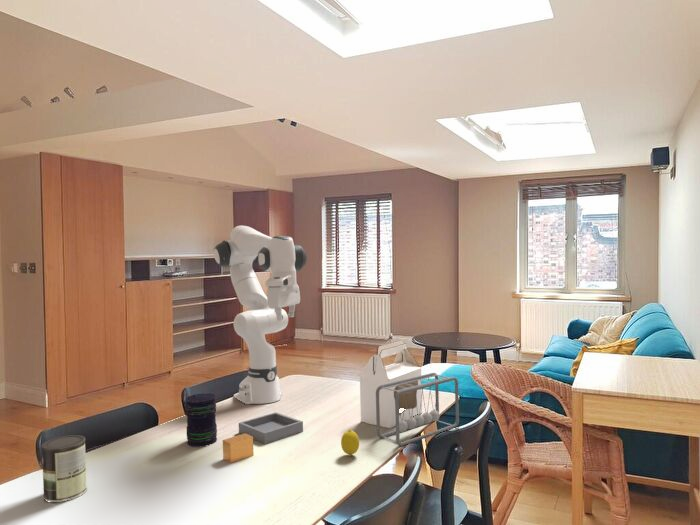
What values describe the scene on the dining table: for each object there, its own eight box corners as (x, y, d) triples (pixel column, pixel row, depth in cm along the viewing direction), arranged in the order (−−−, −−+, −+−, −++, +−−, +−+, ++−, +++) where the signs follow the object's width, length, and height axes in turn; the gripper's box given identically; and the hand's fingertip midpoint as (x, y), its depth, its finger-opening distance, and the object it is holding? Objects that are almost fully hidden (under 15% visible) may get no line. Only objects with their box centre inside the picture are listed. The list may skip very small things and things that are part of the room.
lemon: (361, 453, 160) (361, 427, 160) (356, 460, 155) (355, 433, 155) (345, 451, 162) (344, 426, 162) (338, 458, 157) (338, 432, 157)
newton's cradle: (397, 448, 164) (396, 392, 164) (376, 439, 172) (374, 386, 172) (459, 426, 183) (458, 376, 182) (437, 419, 191) (436, 371, 191)
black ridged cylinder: (223, 438, 177) (222, 395, 176) (203, 448, 168) (202, 402, 168) (200, 434, 181) (199, 392, 181) (180, 444, 172) (178, 400, 172)
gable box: (389, 429, 182) (387, 349, 181) (360, 422, 190) (358, 346, 190) (422, 412, 199) (420, 340, 199) (394, 407, 207) (392, 337, 207)
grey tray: (238, 432, 182) (238, 422, 182) (276, 421, 193) (275, 412, 193) (265, 443, 170) (264, 433, 170) (303, 431, 182) (302, 421, 182)
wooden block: (223, 459, 159) (222, 440, 159) (245, 451, 164) (244, 433, 164) (231, 463, 156) (230, 443, 155) (253, 455, 161) (252, 436, 161)
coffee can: (35, 504, 132) (33, 449, 132) (54, 486, 143) (52, 435, 142) (77, 501, 133) (75, 447, 133) (93, 484, 144) (91, 433, 143)
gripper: (288, 279, 197) (289, 315, 197) (263, 282, 178) (265, 322, 178) (303, 278, 195) (305, 315, 195) (280, 281, 176) (281, 322, 176)
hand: (285, 318), depth 186 cm, fingers open, 8 cm apart
